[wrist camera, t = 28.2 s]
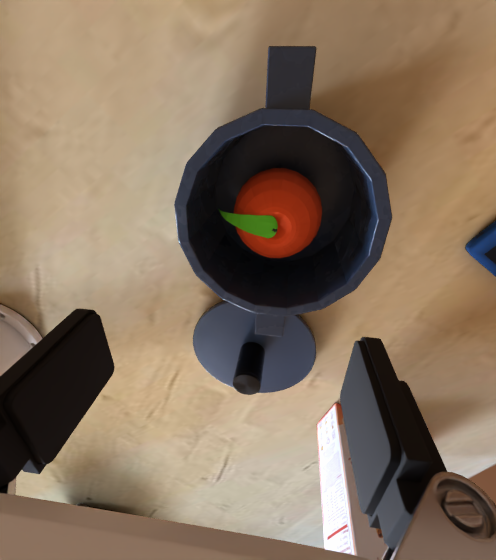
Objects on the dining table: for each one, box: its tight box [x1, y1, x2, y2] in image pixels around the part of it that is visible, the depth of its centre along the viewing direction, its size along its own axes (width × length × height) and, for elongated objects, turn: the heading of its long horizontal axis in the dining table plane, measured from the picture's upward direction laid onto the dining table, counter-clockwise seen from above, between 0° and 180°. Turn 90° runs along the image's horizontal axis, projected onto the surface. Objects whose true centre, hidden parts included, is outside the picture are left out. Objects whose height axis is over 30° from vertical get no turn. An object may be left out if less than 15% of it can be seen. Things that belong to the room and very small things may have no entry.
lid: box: [193, 300, 316, 395], centre depth 32 cm, size 15×15×6 cm
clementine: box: [219, 168, 322, 258], centre depth 22 cm, size 8×7×7 cm
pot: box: [174, 46, 392, 337], centre depth 22 cm, size 14×19×8 cm
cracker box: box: [317, 403, 388, 560], centre depth 31 cm, size 14×6×21 cm, turn 70°
